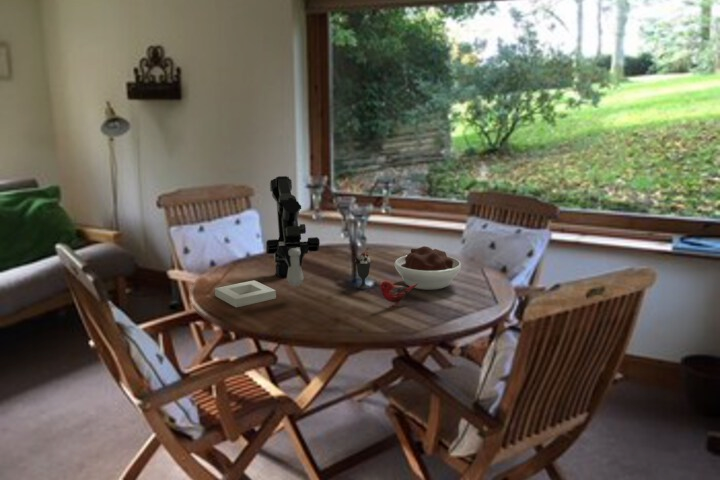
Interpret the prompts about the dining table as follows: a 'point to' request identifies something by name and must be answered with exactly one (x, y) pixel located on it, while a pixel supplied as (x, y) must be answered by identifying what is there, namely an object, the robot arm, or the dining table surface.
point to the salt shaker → (294, 268)
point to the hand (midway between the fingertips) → (295, 266)
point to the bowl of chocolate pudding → (427, 268)
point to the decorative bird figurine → (394, 292)
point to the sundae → (363, 268)
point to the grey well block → (236, 300)
